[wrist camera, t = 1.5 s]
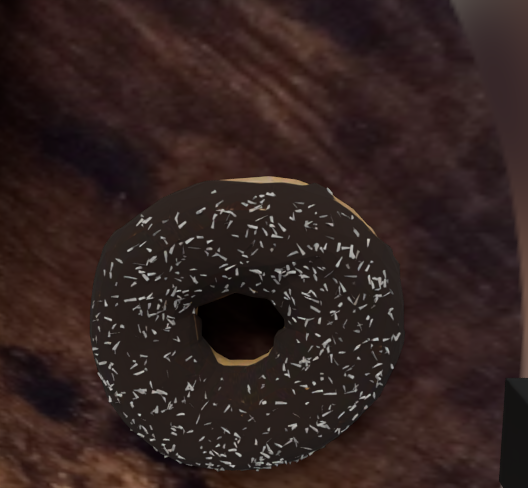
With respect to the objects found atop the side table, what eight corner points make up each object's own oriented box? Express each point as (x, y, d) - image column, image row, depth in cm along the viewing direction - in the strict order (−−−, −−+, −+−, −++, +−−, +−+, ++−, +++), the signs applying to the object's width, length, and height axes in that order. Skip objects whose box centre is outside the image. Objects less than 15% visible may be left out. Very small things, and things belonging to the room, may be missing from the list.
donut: (59, 250, 20) (2, 279, 16) (325, 113, 18) (334, 109, 14) (190, 467, 22) (168, 540, 18) (441, 363, 20) (477, 419, 16)
